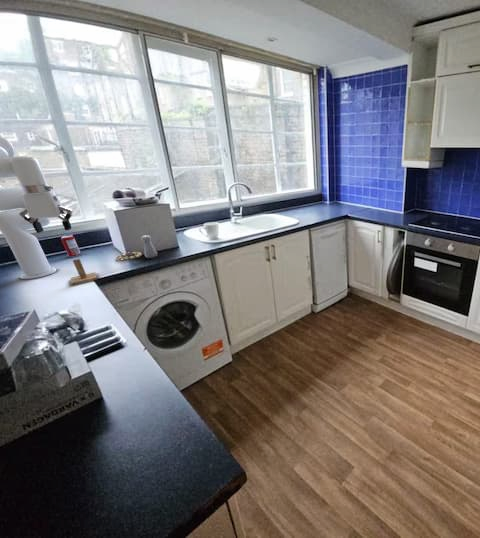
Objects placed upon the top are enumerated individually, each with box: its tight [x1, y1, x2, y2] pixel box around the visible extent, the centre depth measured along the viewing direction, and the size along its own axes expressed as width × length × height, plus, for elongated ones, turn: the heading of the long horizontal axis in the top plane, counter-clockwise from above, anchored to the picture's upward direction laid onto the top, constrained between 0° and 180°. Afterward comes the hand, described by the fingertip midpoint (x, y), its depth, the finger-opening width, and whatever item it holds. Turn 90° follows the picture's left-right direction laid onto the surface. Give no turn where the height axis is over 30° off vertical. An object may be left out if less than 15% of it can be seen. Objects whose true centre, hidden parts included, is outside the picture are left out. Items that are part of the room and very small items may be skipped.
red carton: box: [60, 234, 82, 258], centre depth 169 cm, size 6×6×12 cm
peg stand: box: [70, 258, 99, 287], centre depth 136 cm, size 9×9×10 cm
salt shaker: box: [140, 235, 158, 259], centre depth 160 cm, size 6×6×13 cm
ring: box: [115, 251, 143, 262], centre depth 163 cm, size 12×12×2 cm
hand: (54, 230), depth 125 cm, fingers open, 9 cm apart
